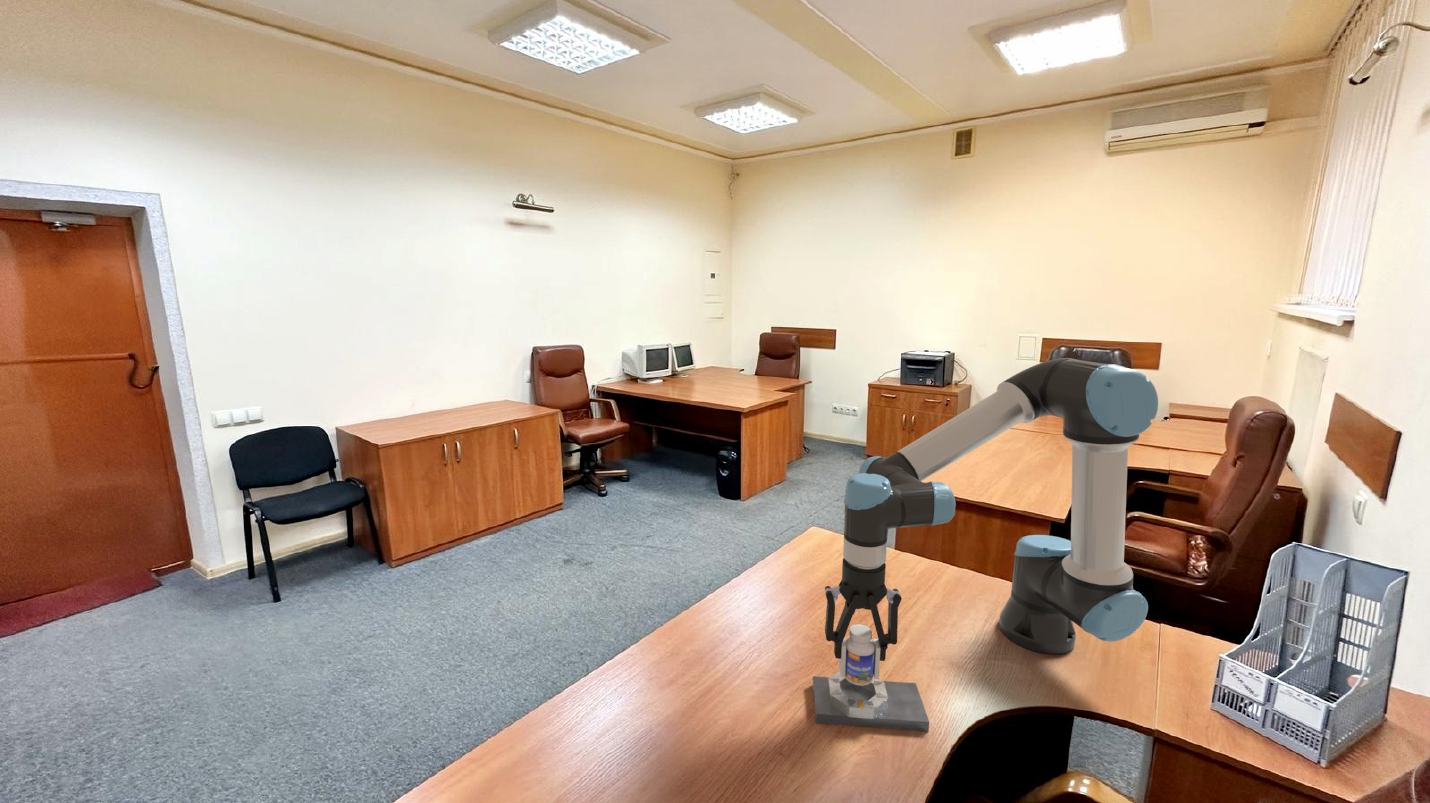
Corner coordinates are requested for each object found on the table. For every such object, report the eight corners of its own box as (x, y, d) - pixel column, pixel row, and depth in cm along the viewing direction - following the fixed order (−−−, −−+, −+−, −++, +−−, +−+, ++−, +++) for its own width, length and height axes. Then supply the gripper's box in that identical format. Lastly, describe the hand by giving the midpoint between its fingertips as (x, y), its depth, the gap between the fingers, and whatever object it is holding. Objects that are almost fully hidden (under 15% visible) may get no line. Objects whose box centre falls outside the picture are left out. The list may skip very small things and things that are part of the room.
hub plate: (914, 690, 110) (916, 671, 109) (928, 732, 100) (930, 711, 99) (812, 683, 112) (813, 664, 111) (816, 723, 102) (816, 703, 101)
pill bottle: (844, 684, 103) (845, 637, 101) (843, 665, 108) (844, 620, 106) (874, 688, 102) (876, 641, 100) (872, 668, 107) (874, 623, 105)
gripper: (911, 551, 103) (904, 662, 107) (810, 548, 105) (807, 657, 109) (922, 572, 95) (914, 690, 100) (813, 567, 97) (810, 683, 102)
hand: (858, 672), depth 105 cm, fingers closed on pill bottle, 5 cm apart
